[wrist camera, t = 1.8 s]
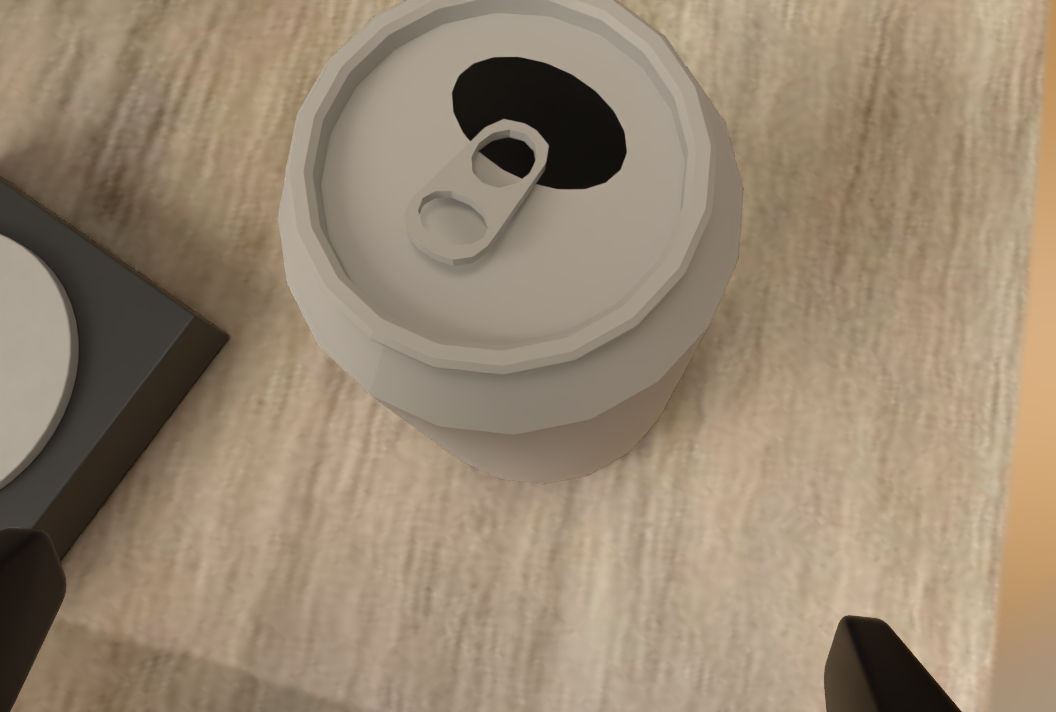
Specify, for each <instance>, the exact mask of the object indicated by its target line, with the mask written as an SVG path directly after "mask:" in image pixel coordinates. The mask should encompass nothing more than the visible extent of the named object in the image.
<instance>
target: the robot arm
mask: <svg viewBox="0 0 1056 712" xmlns="http://www.w3.org/2000/svg"><path fill="white" fill-rule="evenodd" d="M65 592H66V577H65V574H64V571H63V569H62V566H61V564H60V561H59V558H58V556H57V553H56V550H55V548H54V545H53V543H52V540H51V538H50V536H49V535H48V534H47V533H46V532H45V531H43V530H40V529H32V528H23V527H8V528H5V529H3V530H1V531H0V712H10V711H11V709H12V707H13V705H14V703H15V701H16V699H17V697H18V695H19V693H20V690H21V688H22V686H23V684H24V682H25V680H26V678H27V676H28V674H29V671H30V669H31V667H32V665H33V663H34V661H35V659H36V657H37V655H38V652H39V650H40V648H41V646H42V644H43V642H44V640H45V638H46V636H47V634H48V631H49V629H50V627H51V625H52V623H53V621H54V619H55V617H56V615H57V612H58V610H59V608H60V606H61V604H62V602H63V599H64V596H65ZM824 689H825V699H826V710H827V712H962V711H961V710H960V709H959V708H958V707H957V706H956V704H955V703H954V702H953V701H952V700H951V698H950V697H949V696H948V695H947V694H946V693H945V691H944V690H943V689H942V688H941V687H940V685H939V684H938V683H937V682H936V681H935V680H934V678H933V677H932V676H931V675H930V674H929V672H928V671H927V670H926V669H925V668H924V666H923V665H922V664H921V663H920V662H919V661H918V659H917V658H916V657H915V656H914V655H913V653H912V652H911V651H910V650H909V649H908V648H907V646H906V645H905V644H904V643H903V642H902V640H901V639H900V638H899V637H898V636H897V635H896V633H895V632H894V631H893V630H892V629H891V627H890V626H889V625H888V624H887V623H885V622H884V621H883V620H881V619H878V618H870V617H861V616H851V615H848V616H845V617H843V618H842V619H841V620H840V622H839V624H838V627H837V630H836V633H835V637H834V640H833V643H832V646H831V649H830V652H829V655H828V658H827V661H826V665H825V672H824Z"/></svg>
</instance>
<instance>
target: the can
mask: <svg viewBox="0 0 1056 712" xmlns="http://www.w3.org/2000/svg"><path fill="white" fill-rule="evenodd" d="M743 189H744V188H743V185H742V181H741V177H740V174H739V170H738V166H737V163H736V159H735V156H734V152H733V148H732V145H731V141H730V137H729V134H728V130H727V127H726V123H725V121H724V120H723V118H722V117H721V115H720V114H719V112H718V111H717V110H716V108H715V107H714V105H713V104H712V102H711V101H710V99H709V98H708V96H707V95H706V94H705V92H704V91H703V89H702V88H701V86H700V85H699V83H698V82H697V80H696V79H695V78H694V76H693V75H692V73H691V72H690V70H689V69H688V67H687V66H685V64H684V63H683V61H682V60H681V58H680V57H679V55H678V54H677V52H676V51H675V50H674V48H673V47H672V45H671V44H670V42H669V41H668V39H667V38H666V37H665V36H664V35H663V34H661V33H660V32H659V31H658V30H656V29H655V28H654V27H652V26H651V25H650V24H648V23H647V22H646V21H644V20H643V19H642V18H640V17H639V16H638V15H636V14H635V13H634V12H632V11H631V10H630V9H628V8H627V7H626V6H624V5H623V4H622V3H620V2H619V1H618V0H404V1H402V2H400V3H398V4H396V5H394V6H392V7H391V8H389V9H387V10H385V11H383V12H381V13H379V14H377V15H375V16H373V17H372V18H371V19H370V20H369V21H368V22H367V23H366V24H365V25H364V26H363V27H362V28H361V29H360V30H359V31H358V32H357V33H356V34H355V35H354V36H352V37H351V38H350V39H349V40H348V41H347V42H346V43H345V44H344V45H343V46H342V47H341V48H340V49H339V50H338V51H337V52H336V53H335V54H334V55H333V56H332V57H331V58H329V59H328V61H327V62H326V64H325V66H324V68H323V69H322V71H321V73H320V75H319V77H318V78H317V80H316V82H315V84H314V85H313V87H312V89H311V91H310V93H309V94H308V96H307V98H306V100H305V101H304V103H303V105H302V107H301V108H300V110H299V112H298V114H297V117H296V122H295V127H294V132H293V137H292V142H291V147H290V152H289V157H288V162H287V167H286V172H285V183H284V188H283V193H282V198H281V203H280V208H279V213H278V221H279V228H280V236H281V244H282V251H283V259H284V267H285V274H286V282H287V285H288V287H289V289H290V291H291V293H292V295H293V297H294V299H295V301H296V303H297V305H298V307H299V308H300V310H301V312H302V314H303V316H304V318H305V320H306V322H307V324H308V326H309V328H310V330H311V332H312V334H313V336H314V338H315V340H316V342H317V344H318V345H319V346H320V347H321V348H322V349H323V350H324V351H325V352H326V353H327V354H328V355H329V356H330V357H331V358H332V359H333V360H334V361H335V362H336V363H337V364H338V365H339V366H340V367H341V368H342V369H344V370H345V371H346V372H347V373H348V374H349V375H350V376H351V377H352V378H353V379H354V380H355V381H356V382H357V383H358V384H359V385H360V386H361V387H362V388H363V389H364V390H365V391H366V392H367V393H369V394H370V395H371V396H372V397H374V398H375V399H376V400H378V401H379V402H381V403H382V404H383V405H385V406H386V407H387V408H389V409H390V410H391V411H393V412H394V413H396V414H397V415H398V416H400V417H401V418H402V419H404V420H405V421H407V422H408V423H409V424H411V425H412V426H413V427H415V428H416V429H417V430H419V431H420V432H422V433H423V434H424V435H426V436H427V437H428V438H430V439H431V440H433V441H434V442H435V443H437V444H438V445H439V446H441V447H442V448H443V449H445V450H446V451H448V452H449V453H450V454H452V455H453V456H454V457H456V458H457V459H459V460H460V461H462V462H464V463H467V464H469V465H471V466H473V467H475V468H477V469H479V470H482V471H484V472H486V473H488V474H490V475H492V476H494V477H496V478H499V479H504V480H513V481H521V482H529V483H538V484H548V483H553V482H558V481H563V480H568V479H573V478H578V477H583V476H588V475H590V474H592V473H594V472H596V471H597V470H599V469H601V468H603V467H604V466H606V465H608V464H610V463H612V462H613V461H615V460H617V459H619V458H620V457H622V456H624V455H626V454H627V453H629V452H630V451H631V449H632V448H633V447H634V446H635V445H636V444H637V443H638V442H639V441H640V439H641V438H642V437H643V436H644V435H645V434H646V433H647V432H648V431H649V430H650V428H651V427H652V426H653V425H654V424H655V423H656V422H657V421H658V419H659V418H660V416H661V414H662V412H663V410H664V408H665V406H666V405H667V403H668V401H669V399H670V397H671V395H672V393H673V392H674V390H675V388H676V386H677V384H678V382H679V381H680V379H681V377H682V375H683V373H684V371H685V369H686V368H687V366H688V364H689V362H690V360H691V358H692V356H693V355H694V353H695V351H696V349H697V347H698V345H699V344H700V342H701V340H702V338H703V336H704V334H705V332H706V331H707V329H708V327H709V325H710V323H711V320H712V318H713V316H714V314H715V311H716V309H717V307H718V304H719V302H720V300H721V297H722V295H723V293H724V291H725V288H726V286H727V284H728V281H729V279H730V277H731V274H732V272H733V270H734V268H735V265H736V263H737V261H738V258H739V244H740V230H741V217H742V203H743Z"/></svg>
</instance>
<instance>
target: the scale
mask: <svg viewBox="0 0 1056 712" xmlns="http://www.w3.org/2000/svg"><path fill="white" fill-rule="evenodd" d="M228 337H229V336H228V334H227V333H225V332H224V331H222V330H221V329H219V328H218V327H217V326H215V325H214V324H212V323H211V322H209V321H208V320H206V319H205V318H204V317H202V316H201V315H199V314H198V313H196V312H195V311H194V310H192V309H191V308H189V307H188V306H186V305H185V304H183V303H182V302H181V301H179V300H178V299H176V298H175V297H173V296H172V295H171V294H169V293H168V292H166V291H165V290H163V289H162V288H160V287H159V286H158V285H156V284H155V283H153V282H152V281H150V280H149V279H148V278H146V277H145V276H143V275H142V274H140V273H139V272H137V271H136V270H135V269H133V268H132V267H130V266H129V265H127V264H126V263H125V262H123V261H122V260H120V259H119V258H117V257H116V256H114V255H113V254H112V253H110V252H109V251H107V250H106V249H104V248H103V247H102V246H100V245H99V244H97V243H96V242H94V241H93V240H91V239H90V238H89V237H87V236H86V235H84V234H83V233H81V232H80V231H79V230H77V229H76V228H74V227H73V226H71V225H70V224H68V223H67V222H66V221H64V220H63V219H61V218H60V217H58V216H57V215H56V214H54V213H53V212H51V211H50V210H48V209H47V208H45V207H44V206H43V205H41V204H40V203H38V202H37V201H35V200H34V199H33V198H31V197H30V196H28V195H27V194H25V193H24V192H22V191H21V190H20V189H18V188H17V187H15V186H14V185H12V184H11V183H10V182H8V181H7V180H5V179H4V178H2V177H1V176H0V531H1V530H3V529H5V528H8V527H23V528H32V529H40V530H43V531H45V532H46V533H47V534H48V535H49V536H50V538H51V540H52V543H53V545H54V548H55V550H56V553H57V556H58V558H59V561H60V559H61V558H62V557H63V556H64V554H65V553H66V552H67V550H68V549H69V548H70V546H71V545H72V544H73V542H74V541H75V540H76V538H77V537H78V536H79V534H80V533H81V532H82V530H83V529H84V528H85V526H86V525H87V524H88V523H89V521H90V520H91V519H92V517H93V516H94V515H95V513H96V512H97V511H98V509H99V508H100V507H101V505H102V504H103V503H104V501H105V500H106V499H107V497H108V496H109V495H110V493H111V492H112V491H113V489H114V488H115V487H116V486H117V484H118V483H119V482H120V480H121V479H122V478H123V476H124V475H125V474H126V472H127V471H128V470H129V468H130V467H131V466H132V464H133V463H134V462H135V460H136V459H137V458H138V456H139V455H140V454H141V453H142V451H143V450H144V449H145V447H146V446H147V445H148V443H149V442H150V441H151V439H152V438H153V437H154V435H155V434H156V433H157V431H158V430H159V429H160V427H161V426H162V425H163V423H164V422H165V421H166V420H167V418H168V417H169V416H170V414H171V413H172V412H173V410H174V409H175V408H176V406H177V405H178V404H179V402H180V401H181V400H182V398H183V397H184V396H185V394H186V393H187V392H188V390H189V389H190V388H191V386H192V385H193V384H194V383H195V381H196V380H197V379H198V377H199V376H200V375H201V373H202V372H203V371H204V369H205V368H206V367H207V365H208V364H209V363H210V361H211V360H212V359H213V357H214V356H215V355H216V353H217V352H218V351H219V350H220V348H221V347H222V346H223V344H224V343H225V342H226V340H227V339H228Z"/></svg>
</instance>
